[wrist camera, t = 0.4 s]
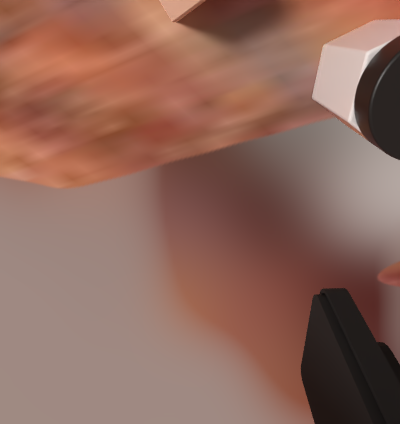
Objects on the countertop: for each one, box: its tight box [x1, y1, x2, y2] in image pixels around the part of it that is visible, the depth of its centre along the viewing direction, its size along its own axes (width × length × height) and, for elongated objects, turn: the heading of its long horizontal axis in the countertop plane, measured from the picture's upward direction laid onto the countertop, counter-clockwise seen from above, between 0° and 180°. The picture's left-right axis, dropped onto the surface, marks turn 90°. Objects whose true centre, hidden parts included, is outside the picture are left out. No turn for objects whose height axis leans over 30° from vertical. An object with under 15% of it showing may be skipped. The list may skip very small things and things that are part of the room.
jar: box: [312, 19, 400, 160], centre depth 27 cm, size 9×8×12 cm
